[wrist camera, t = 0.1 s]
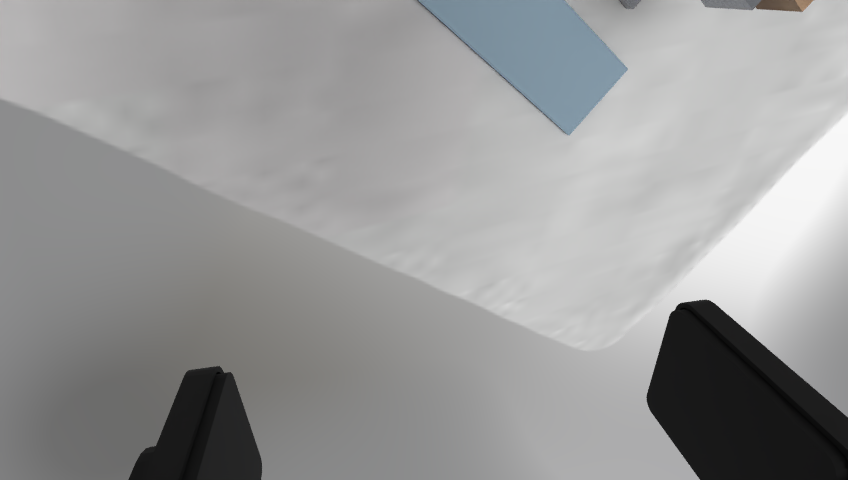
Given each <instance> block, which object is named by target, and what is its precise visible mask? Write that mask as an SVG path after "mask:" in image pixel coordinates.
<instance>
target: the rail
mask: <svg viewBox="0 0 848 480" xmlns="http://www.w3.org/2000/svg"><path fill="white" fill-rule="evenodd" d="M812 1H813V0H761V1H760V2H759V4H758V5H757V6H756V8H757V9H766V10H782V11H799V12H803V11H804V10H805V9H806V8H807V7H808V5H809V4H810V3H811V2H812Z"/></svg>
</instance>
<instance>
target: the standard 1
mask: <svg viewBox="0 0 848 480" xmlns="http://www.w3.org/2000/svg"><path fill="white" fill-rule="evenodd" d="M619 1H620V2H621V3H622V4H623V5H624V6H625V8H626V9H634V8H635V6H636V5H637V4H638V3H639V2H640V1H641V0H619ZM701 1H702V3H703V4H704V5H705V7H712V8H727V9H743V10H753V9H754V8H755V7H756V6H757V5H758V4H759V2H760V1H761V0H701Z"/></svg>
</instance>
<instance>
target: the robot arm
mask: <svg viewBox="0 0 848 480" xmlns="http://www.w3.org/2000/svg"><path fill="white" fill-rule="evenodd" d="M647 403H648V407H649V409H650V411H651V412H652V414H653V415H654V416H655V418H656V419H657V421H658V422H659V424H660V425H661V426H662V428H663V429H664V430H665V432H666V433H667V435H668V436H669V437H670V439H671V440H672V441H673V443H674V444H675V446H676V447H677V448H678V450H679V451H680V452H681V454H682V455H683V457H684V458H685V459H686V461H687V462H688V464H689V465H690V466H691V468H692V469H693V470H694V472H695V473H696V475H697V476H698V477H699V479H700V480H848V417H846V416H845V415H844V414H843V413H842V412H841V411H840V410H838V409H837V408H836V407H835V406H834V405H832V404H831V403H830V402H829V401H828V400H827V399H825V398H824V397H823V396H822V395H821V394H819V393H818V392H817V391H816V390H815V389H814V388H813V387H811V386H810V385H809V384H808V383H807V382H805V381H804V380H803V379H802V378H801V377H800V376H798V375H797V374H796V373H795V372H794V371H793V370H791V369H790V368H789V367H788V366H787V365H786V364H784V363H783V362H782V361H781V360H780V359H779V358H778V357H776V356H775V355H774V354H773V353H772V352H770V351H769V350H768V349H767V348H766V347H765V346H764V345H762V344H761V343H760V342H759V341H758V340H757V339H755V338H754V337H753V336H752V335H751V334H749V333H748V332H747V331H746V330H745V329H744V328H742V327H741V326H740V325H739V324H738V323H737V322H736V321H734V320H733V319H732V318H731V317H730V316H729V315H727V314H726V313H725V312H724V311H723V310H721V309H720V308H719V307H718V306H717V305H716V304H714V303H713V302H711V301H709V300H699V301H692V302H685V303H680V304H679V305H678V306H677V307H676V309H675V311H673V312H672V313H671V314H670V316H669V320H668V323H667V327H666V330H665V334H664V337H663V341H662V345H661V348H660V352H659V355H658V358H657V361H656V365H655V369H654V372H653V375H652V379H651V383H650V386H649V389H648V393H647ZM261 475H262V462H261V457H260V454H259V451H258V448H257V445H256V442H255V439H254V436H253V433H252V430H251V427H250V424H249V421H248V418H247V415H246V412H245V409H244V406H243V403H242V400H241V397H240V394H239V392H238V388H237V385H236V382H235V379H234V377H233V374H232V373H231V372H228V373H224V372H223V370H222V368H221V367H220V366H217V367H209V368H202V369H195V370H189V371H187V372H186V374H185V376H184V378H183V380H182V383H181V385H180V388H179V390H178V393H177V395H176V398H175V400H174V403H173V405H172V408H171V410H170V413H169V415H168V418H167V420H166V423H165V425H164V428H163V430H162V433H161V435H160V438H159V440H158V443H157V445H156V446H154V447H149V448H146V449H145V450H144V451H143V452H142V453H141V454H140V456H139V458H138V460H137V461H136V463H135V466H134V468H133V470H132V473H131V475H130V477H129V480H261Z"/></svg>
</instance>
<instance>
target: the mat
mask: <svg viewBox="0 0 848 480" xmlns="http://www.w3.org/2000/svg"><path fill="white" fill-rule="evenodd" d="M418 1H419V2H420V3H421V4H422V5H423V6H424V7H426V8H427V9H428V10H429V11H430V12H431V13H432V14H433V15H434V16H436V17H437V18H438V19H439V20H440V21H441V22H442V23H443V24H445V25H446V26H447V27H448V28H449V29H450V30H451V31H452V32H453V33H455V34H456V35H457V36H458V37H459V38H460V39H461V40H462V41H463V42H465V43H466V44H467V45H468V46H469V47H470V48H471V49H472V50H474V51H475V52H476V53H477V54H478V55H479V56H480V57H481V58H482V59H484V60H485V61H486V62H487V63H488V64H489V65H490V66H491V67H492V68H494V69H495V70H496V71H497V72H498V73H499V74H500V75H501V76H503V77H504V78H505V79H506V80H507V81H508V82H509V83H510V84H511V85H513V86H514V87H515V88H516V89H517V90H518V91H519V92H520V93H522V94H523V95H524V96H525V97H526V98H527V99H528V100H529V101H530V102H532V103H533V104H534V105H535V106H536V107H537V108H538V109H539V110H540V111H542V112H543V113H544V114H545V115H546V116H547V117H548V118H549V119H551V120H552V121H553V122H554V123H555V124H556V125H557V126H558V127H559V128H561V129H562V130H563V131H564V132H565V133H566V134H568V135H570V134H571V133H572V132H573V131H574V129H575V128H576V127H577V126H578V125H579V124H580V123H581V122H582V120H583V119H584V118H585V117H586V116H587V115H588V114H589V113H590V111H591V110H592V109H593V108H594V107H595V106H596V105H597V104H598V102H599V101H600V100H601V99H602V98H603V97H604V96H605V95H606V93H607V92H608V91H609V90H610V89H611V88H612V87H613V86H614V84H615V83H616V82H617V81H618V80H619V79H620V78H621V77H622V75H623V74H624V73H625V72H626V71H627V70H628V68H627V67H626V66H625V65H624V64H623V63H622V62H621V61H620V60H619V59H618V58H617V56H616V55H615V54H614V53H613V52H612V51H611V50H610V49H609V48H608V47H607V46H606V45H605V44H604V42H603V41H602V40H601V39H600V38H599V37H598V36H597V35H596V34H595V33H594V32H593V31H592V29H591V28H590V27H589V26H588V25H587V24H586V23H585V22H584V21H583V20H582V19H581V18H580V17H579V15H578V14H577V13H576V12H575V11H574V10H573V9H572V8H571V7H570V6H569V5H568V4H567V3H566V1H565V0H418Z"/></svg>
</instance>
